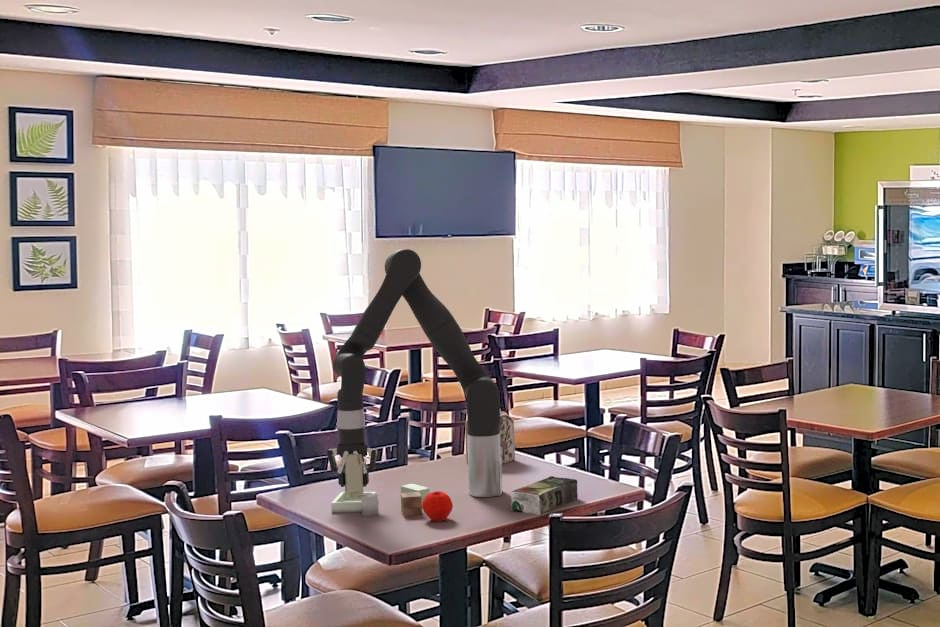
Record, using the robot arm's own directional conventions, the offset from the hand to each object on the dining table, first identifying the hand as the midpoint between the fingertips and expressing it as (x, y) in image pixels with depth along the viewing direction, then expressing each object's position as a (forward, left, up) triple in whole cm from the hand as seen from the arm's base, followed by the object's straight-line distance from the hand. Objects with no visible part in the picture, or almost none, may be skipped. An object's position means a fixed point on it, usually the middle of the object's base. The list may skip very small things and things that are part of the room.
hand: (353, 486), depth 290 cm
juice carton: (-52, 0, -6) cm, 52 cm away
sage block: (-16, -6, -6) cm, 18 cm away
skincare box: (0, 0, -3) cm, 3 cm away
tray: (0, 0, -6) cm, 6 cm away
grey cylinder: (-6, +8, -6) cm, 12 cm away
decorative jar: (-33, -55, -6) cm, 64 cm away
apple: (-25, +14, -6) cm, 29 cm away
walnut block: (-17, +7, -6) cm, 19 cm away
